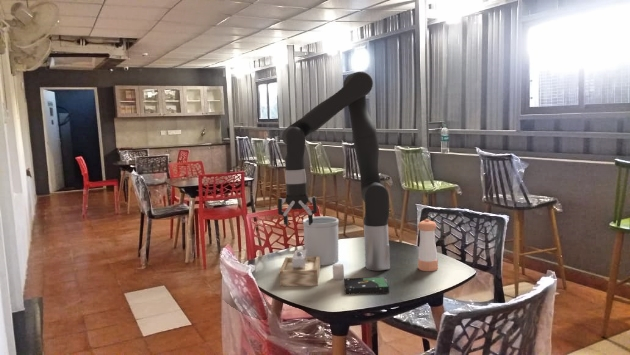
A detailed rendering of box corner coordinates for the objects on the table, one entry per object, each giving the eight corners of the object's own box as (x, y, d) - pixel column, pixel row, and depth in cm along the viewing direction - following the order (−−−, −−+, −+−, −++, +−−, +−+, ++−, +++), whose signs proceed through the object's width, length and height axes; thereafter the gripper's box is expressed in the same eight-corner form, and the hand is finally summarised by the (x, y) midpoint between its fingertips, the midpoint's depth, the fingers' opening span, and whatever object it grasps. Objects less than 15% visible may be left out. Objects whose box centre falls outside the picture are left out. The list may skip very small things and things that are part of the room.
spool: (344, 276, 178) (343, 263, 178) (344, 280, 175) (343, 267, 174) (333, 277, 179) (332, 264, 178) (333, 280, 175) (332, 267, 174)
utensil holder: (332, 254, 209) (331, 214, 207) (345, 263, 195) (343, 220, 193) (300, 258, 205) (298, 218, 203) (311, 268, 191) (309, 225, 189)
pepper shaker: (441, 267, 183) (440, 218, 181) (431, 272, 178) (430, 221, 176) (424, 264, 188) (423, 216, 186) (414, 269, 183) (413, 219, 181)
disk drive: (345, 296, 160) (389, 294, 160) (345, 288, 160) (389, 286, 160) (343, 285, 170) (385, 283, 170) (343, 278, 170) (385, 275, 170)
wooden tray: (320, 270, 188) (319, 256, 187) (317, 285, 170) (317, 270, 170) (286, 271, 189) (285, 257, 188) (280, 286, 171) (279, 271, 171)
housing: (305, 272, 173) (304, 256, 172) (292, 272, 173) (291, 257, 173) (307, 262, 185) (307, 247, 184) (296, 262, 185) (295, 248, 184)
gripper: (275, 184, 172) (278, 228, 174) (314, 182, 171) (317, 226, 173) (278, 181, 180) (280, 223, 182) (316, 179, 179) (318, 222, 181)
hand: (298, 225), depth 177 cm, fingers open, 8 cm apart
